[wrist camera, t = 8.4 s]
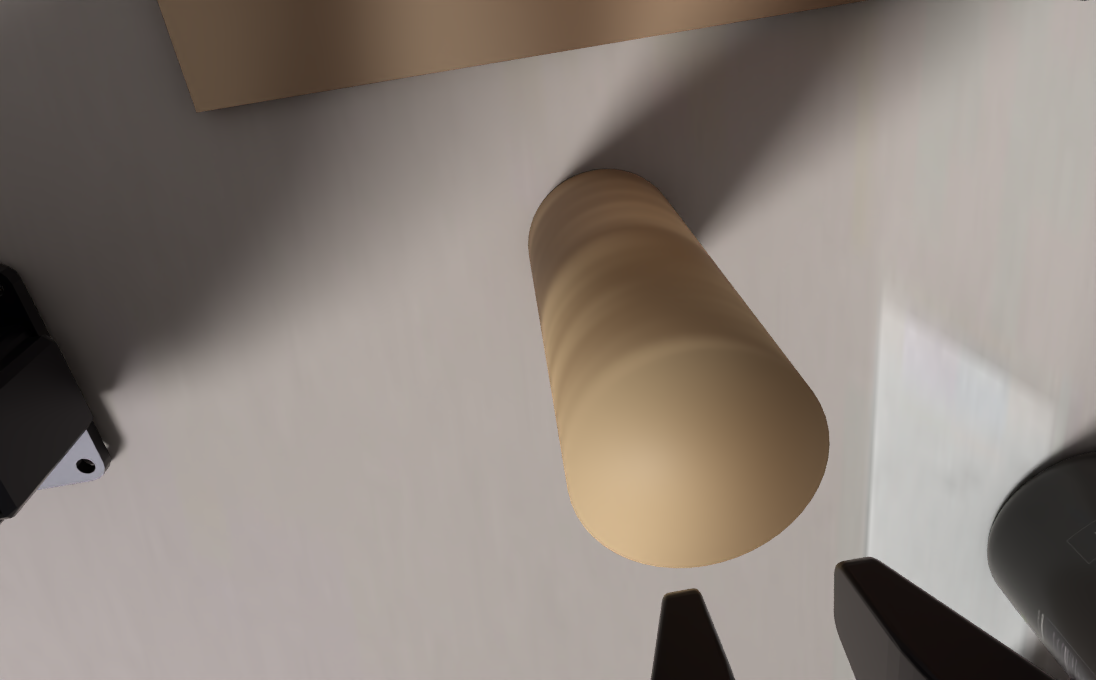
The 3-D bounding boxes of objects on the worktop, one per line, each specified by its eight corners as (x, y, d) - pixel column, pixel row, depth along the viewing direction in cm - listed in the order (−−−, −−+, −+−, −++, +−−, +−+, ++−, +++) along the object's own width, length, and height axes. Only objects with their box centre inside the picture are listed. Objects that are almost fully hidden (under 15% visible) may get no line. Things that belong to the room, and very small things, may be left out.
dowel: (540, 322, 21) (584, 586, 12) (516, 182, 20) (548, 375, 11) (681, 298, 21) (827, 544, 12) (671, 156, 20) (832, 327, 11)
